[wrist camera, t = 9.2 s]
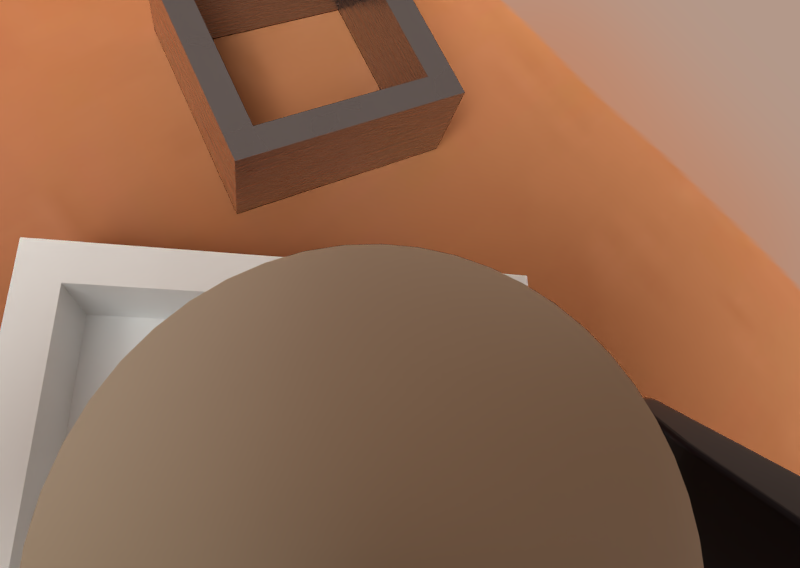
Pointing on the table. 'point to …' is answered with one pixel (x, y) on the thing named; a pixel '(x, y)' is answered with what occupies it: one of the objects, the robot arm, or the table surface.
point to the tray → (79, 346)
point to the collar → (321, 127)
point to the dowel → (366, 432)
